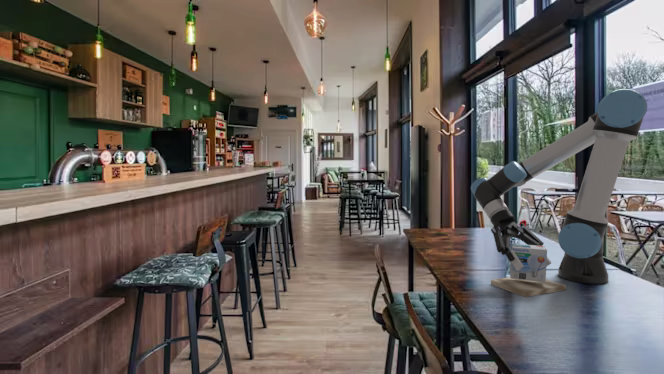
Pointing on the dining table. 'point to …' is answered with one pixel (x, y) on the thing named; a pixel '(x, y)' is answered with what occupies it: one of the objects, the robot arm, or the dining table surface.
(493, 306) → the dining table surface
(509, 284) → the birch board
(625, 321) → the dining table surface
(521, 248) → the light bulb box
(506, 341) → the dining table surface
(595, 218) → the robot arm
